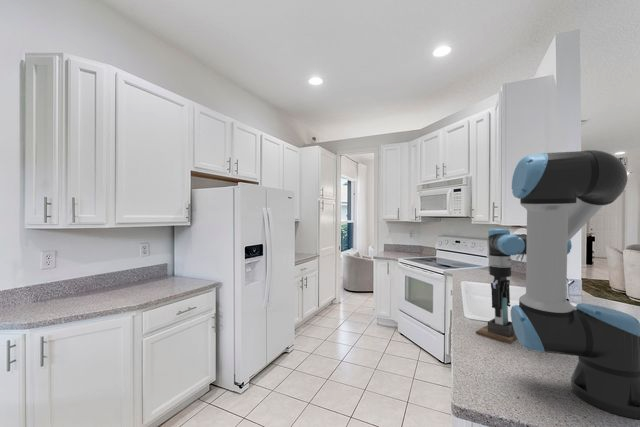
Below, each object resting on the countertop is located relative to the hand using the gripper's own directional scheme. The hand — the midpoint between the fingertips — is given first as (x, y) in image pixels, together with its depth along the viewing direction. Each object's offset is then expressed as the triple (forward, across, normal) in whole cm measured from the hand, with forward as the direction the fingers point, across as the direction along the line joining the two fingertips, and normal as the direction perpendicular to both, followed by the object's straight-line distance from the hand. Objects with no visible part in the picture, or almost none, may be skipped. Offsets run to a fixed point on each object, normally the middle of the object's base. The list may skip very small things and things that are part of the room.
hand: (501, 323), depth 112 cm
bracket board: (+5, 0, +1) cm, 5 cm away
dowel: (+4, 0, 0) cm, 4 cm away
